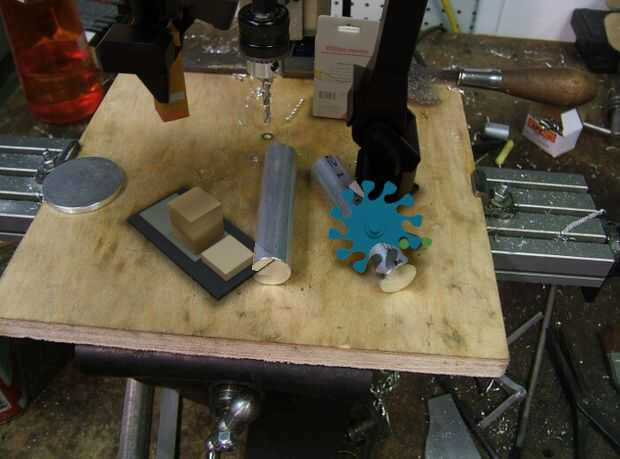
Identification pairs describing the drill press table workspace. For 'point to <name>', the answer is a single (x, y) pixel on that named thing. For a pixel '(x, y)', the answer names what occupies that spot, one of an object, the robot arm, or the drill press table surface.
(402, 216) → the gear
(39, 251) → the drill press table surface
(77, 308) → the drill press table surface
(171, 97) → the supplement box
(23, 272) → the drill press table surface
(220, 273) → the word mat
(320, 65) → the ink cartridge box
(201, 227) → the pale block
